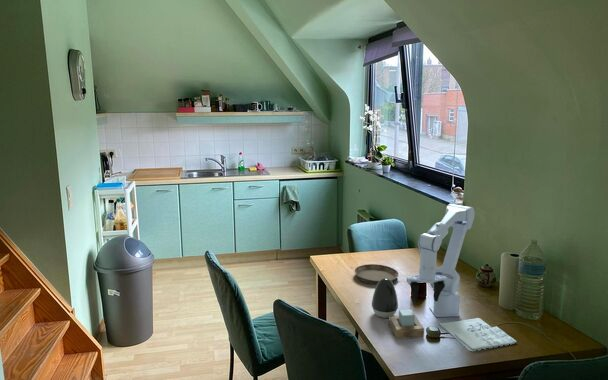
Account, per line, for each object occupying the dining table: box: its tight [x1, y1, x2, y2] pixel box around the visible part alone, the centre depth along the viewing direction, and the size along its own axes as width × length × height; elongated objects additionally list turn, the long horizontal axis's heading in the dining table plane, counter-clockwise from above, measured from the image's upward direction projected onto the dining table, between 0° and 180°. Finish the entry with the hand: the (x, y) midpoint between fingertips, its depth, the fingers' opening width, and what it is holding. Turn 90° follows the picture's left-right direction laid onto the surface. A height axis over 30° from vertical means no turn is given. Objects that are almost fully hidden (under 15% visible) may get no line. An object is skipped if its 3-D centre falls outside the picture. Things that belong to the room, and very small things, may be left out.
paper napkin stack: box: [438, 317, 517, 352], centre depth 166 cm, size 19×20×2 cm
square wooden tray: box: [388, 315, 425, 339], centre depth 168 cm, size 10×10×4 cm
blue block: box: [398, 309, 416, 327], centre depth 167 cm, size 4×4×5 cm
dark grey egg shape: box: [371, 278, 399, 319], centre depth 179 cm, size 10×10×15 cm
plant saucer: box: [354, 263, 399, 286], centre depth 217 cm, size 21×21×3 cm
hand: (425, 300), depth 170 cm, fingers open, 7 cm apart
